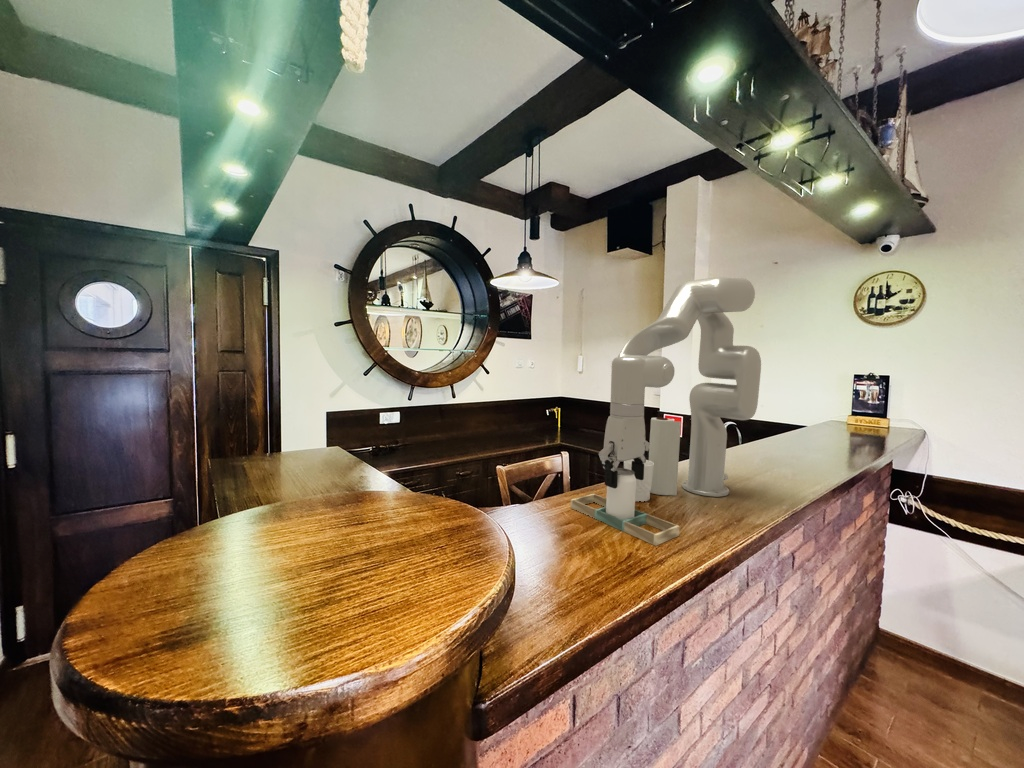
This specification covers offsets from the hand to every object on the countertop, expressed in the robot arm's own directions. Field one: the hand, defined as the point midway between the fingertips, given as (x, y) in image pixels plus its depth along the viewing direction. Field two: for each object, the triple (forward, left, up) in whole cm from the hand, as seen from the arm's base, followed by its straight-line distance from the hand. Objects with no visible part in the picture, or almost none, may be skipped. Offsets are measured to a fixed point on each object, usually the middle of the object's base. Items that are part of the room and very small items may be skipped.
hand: (624, 482), depth 98 cm
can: (+1, 0, -9) cm, 9 cm away
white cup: (-16, -8, -9) cm, 20 cm away
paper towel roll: (-25, -7, -9) cm, 28 cm away
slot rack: (+1, 0, -9) cm, 9 cm away
